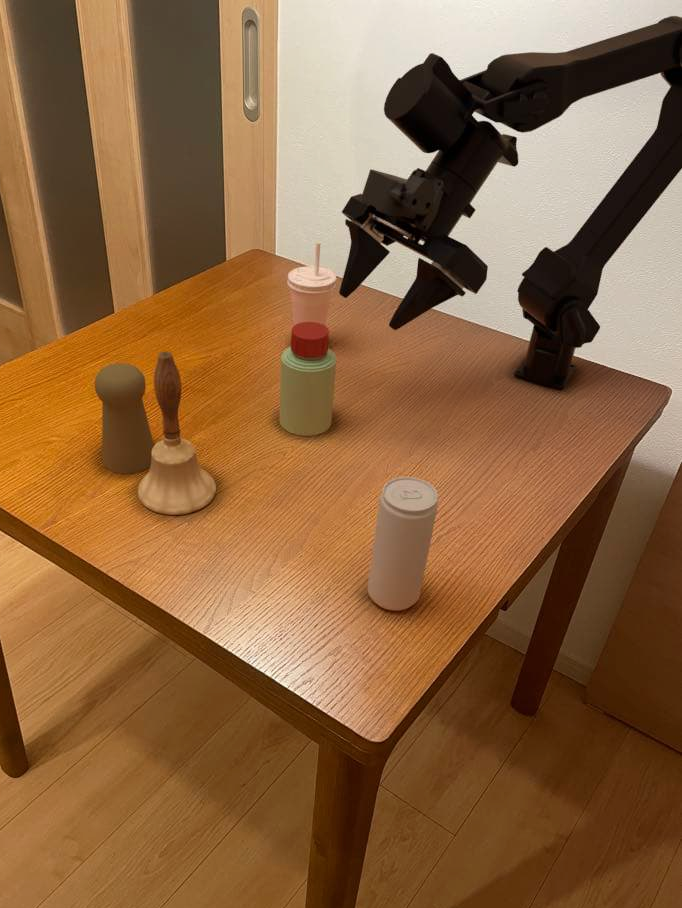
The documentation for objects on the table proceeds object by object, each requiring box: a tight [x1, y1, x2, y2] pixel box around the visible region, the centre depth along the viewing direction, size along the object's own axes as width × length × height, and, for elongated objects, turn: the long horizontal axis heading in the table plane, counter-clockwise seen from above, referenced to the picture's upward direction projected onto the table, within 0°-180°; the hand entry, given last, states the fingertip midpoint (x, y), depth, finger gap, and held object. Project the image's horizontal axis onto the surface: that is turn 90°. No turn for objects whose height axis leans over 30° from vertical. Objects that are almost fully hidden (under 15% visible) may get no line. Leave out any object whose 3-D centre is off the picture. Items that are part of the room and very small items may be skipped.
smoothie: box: [286, 241, 337, 327], centre depth 105 cm, size 6×6×14 cm
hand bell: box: [137, 350, 217, 516], centre depth 79 cm, size 8×8×16 cm
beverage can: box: [367, 476, 439, 612], centre depth 70 cm, size 5×5×12 cm
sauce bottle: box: [278, 346, 337, 437], centre depth 91 cm, size 6×6×11 cm
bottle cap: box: [290, 322, 330, 358], centre depth 88 cm, size 4×4×2 cm
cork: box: [94, 362, 155, 475], centre depth 85 cm, size 6×6×11 cm
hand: (366, 311), depth 87 cm, fingers open, 9 cm apart
